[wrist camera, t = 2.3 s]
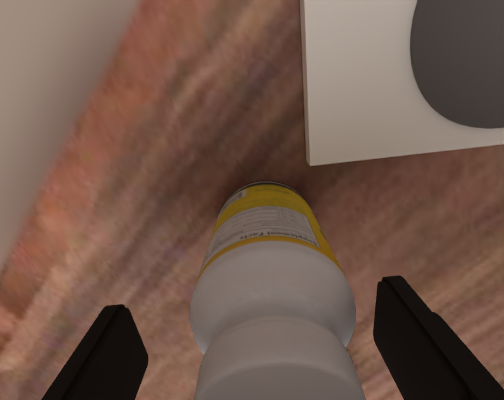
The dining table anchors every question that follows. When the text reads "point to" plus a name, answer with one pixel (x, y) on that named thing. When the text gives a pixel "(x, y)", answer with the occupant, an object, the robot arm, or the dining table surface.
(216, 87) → the dining table surface
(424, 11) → the pad
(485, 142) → the board
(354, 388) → the pill bottle
